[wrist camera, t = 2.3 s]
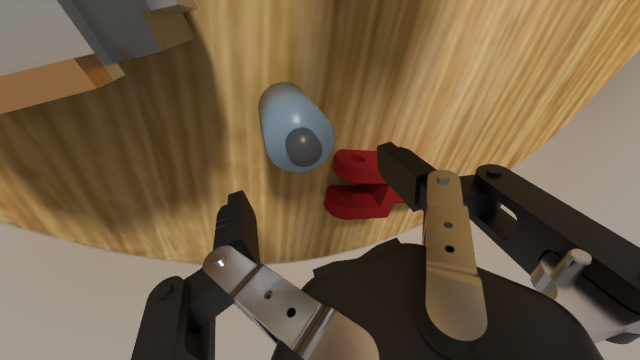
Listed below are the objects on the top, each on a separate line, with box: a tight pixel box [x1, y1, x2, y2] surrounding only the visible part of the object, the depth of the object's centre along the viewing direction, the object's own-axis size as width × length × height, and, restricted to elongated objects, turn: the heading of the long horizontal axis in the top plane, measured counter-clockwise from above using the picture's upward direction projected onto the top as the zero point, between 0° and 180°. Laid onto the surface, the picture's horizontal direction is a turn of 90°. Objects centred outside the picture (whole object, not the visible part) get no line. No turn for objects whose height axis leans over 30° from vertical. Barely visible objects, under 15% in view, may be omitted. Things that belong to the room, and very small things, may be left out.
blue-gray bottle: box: [258, 82, 335, 173], centre depth 20 cm, size 5×5×10 cm
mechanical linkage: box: [324, 149, 405, 220], centre depth 30 cm, size 16×7×5 cm, turn 80°
